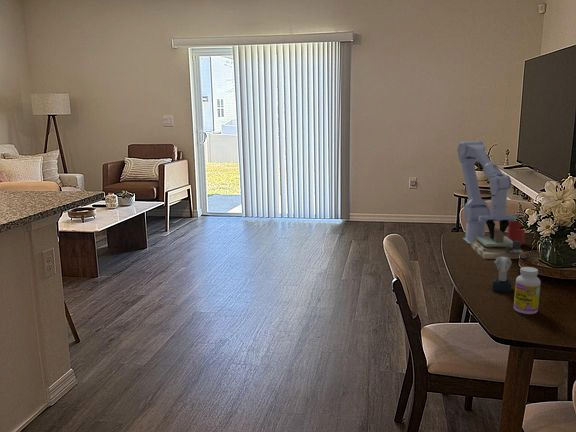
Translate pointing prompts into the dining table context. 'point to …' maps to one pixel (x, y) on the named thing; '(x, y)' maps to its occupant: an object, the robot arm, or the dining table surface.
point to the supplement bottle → (527, 291)
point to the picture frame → (494, 251)
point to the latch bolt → (515, 246)
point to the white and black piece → (502, 275)
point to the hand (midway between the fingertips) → (496, 238)
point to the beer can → (516, 231)
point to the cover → (495, 239)
